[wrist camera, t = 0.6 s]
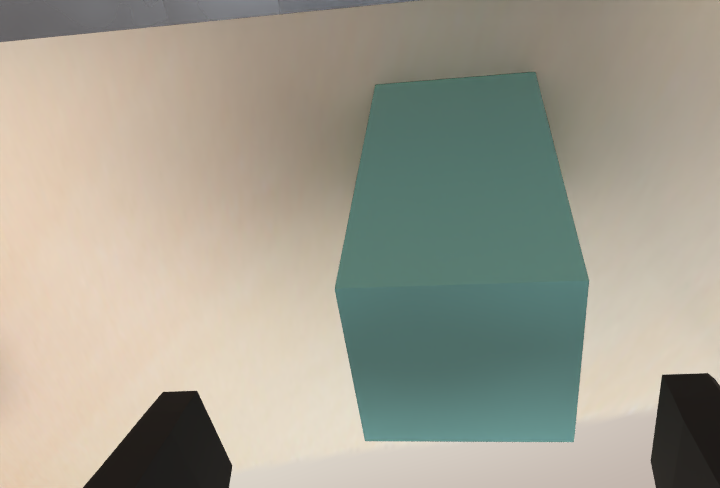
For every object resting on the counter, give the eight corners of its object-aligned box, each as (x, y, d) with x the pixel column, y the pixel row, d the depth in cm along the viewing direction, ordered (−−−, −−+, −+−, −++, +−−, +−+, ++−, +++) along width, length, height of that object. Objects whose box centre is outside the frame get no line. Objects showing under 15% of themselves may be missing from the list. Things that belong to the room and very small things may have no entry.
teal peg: (535, 71, 17) (588, 280, 10) (531, 205, 19) (573, 441, 13) (375, 84, 17) (334, 288, 11) (391, 212, 20) (365, 440, 13)
